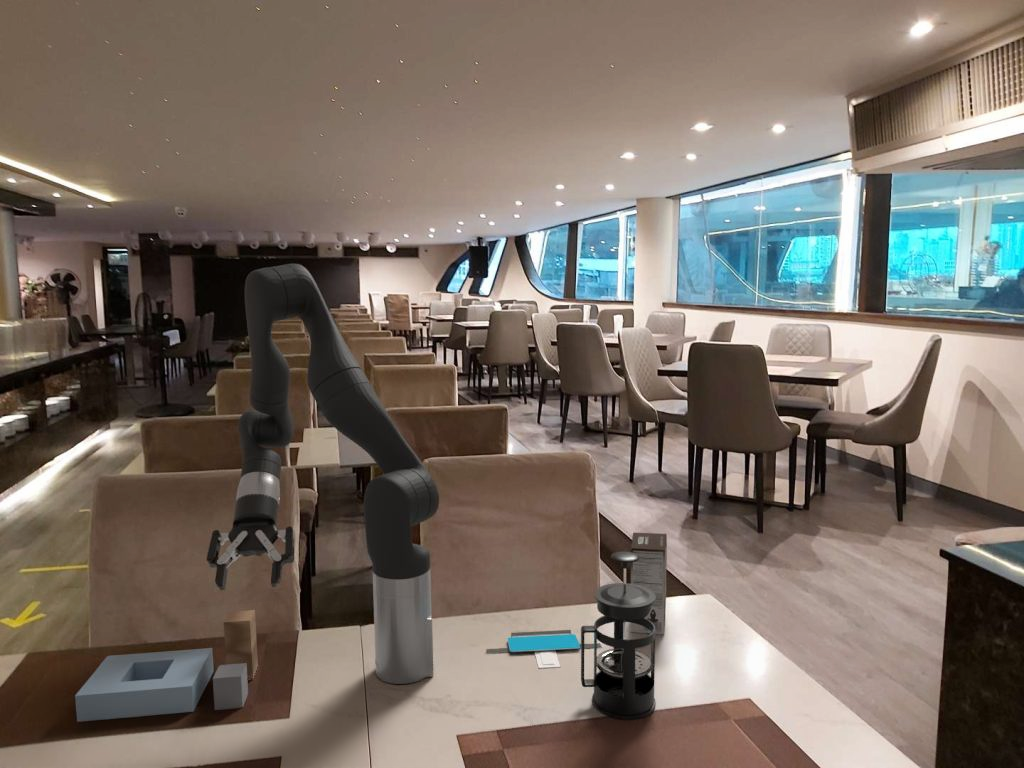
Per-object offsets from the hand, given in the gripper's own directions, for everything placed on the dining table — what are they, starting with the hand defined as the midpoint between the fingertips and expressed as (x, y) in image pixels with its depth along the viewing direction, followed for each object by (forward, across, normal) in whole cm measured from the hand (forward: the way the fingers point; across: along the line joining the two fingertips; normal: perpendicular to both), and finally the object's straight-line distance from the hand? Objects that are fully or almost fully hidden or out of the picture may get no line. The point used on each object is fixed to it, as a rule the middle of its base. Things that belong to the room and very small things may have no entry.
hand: (247, 586), depth 125 cm
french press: (+26, +58, -9) cm, 64 cm away
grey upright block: (+19, 0, -2) cm, 19 cm away
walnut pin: (+14, 0, +4) cm, 14 cm away
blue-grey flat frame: (+16, -13, +1) cm, 21 cm away
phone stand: (+14, +50, +4) cm, 52 cm away
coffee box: (+8, +71, +9) cm, 72 cm away
